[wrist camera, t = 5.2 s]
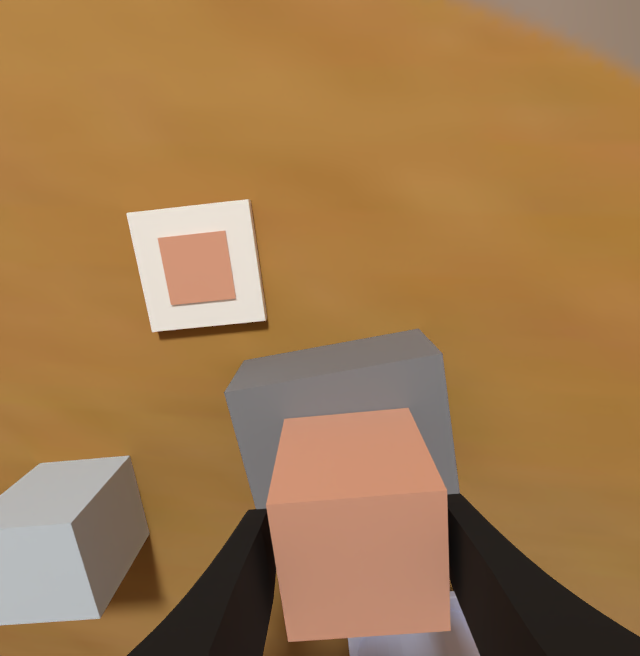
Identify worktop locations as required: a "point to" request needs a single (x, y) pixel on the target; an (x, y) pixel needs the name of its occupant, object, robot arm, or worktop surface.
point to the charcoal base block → (341, 397)
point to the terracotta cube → (359, 527)
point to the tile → (199, 265)
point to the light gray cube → (68, 539)
